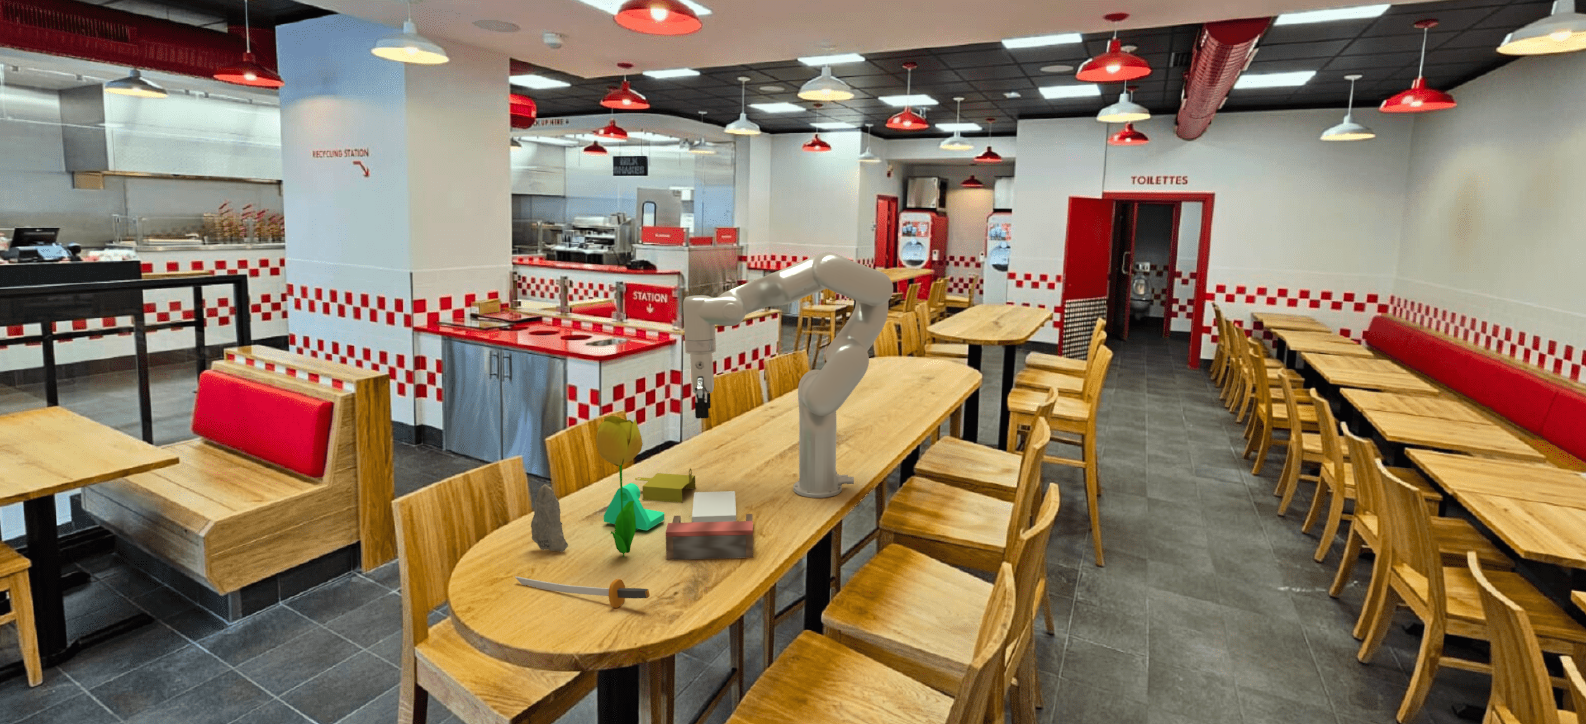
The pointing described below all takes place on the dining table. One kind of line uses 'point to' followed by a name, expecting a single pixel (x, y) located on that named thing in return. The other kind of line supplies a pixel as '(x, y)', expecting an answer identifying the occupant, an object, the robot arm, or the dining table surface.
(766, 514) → the dining table surface
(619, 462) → the flower
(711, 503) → the panel
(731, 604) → the dining table surface
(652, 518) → the camera mount
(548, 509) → the stone tool
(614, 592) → the katana
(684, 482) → the bracket
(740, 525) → the bridge
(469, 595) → the dining table surface
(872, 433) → the dining table surface
